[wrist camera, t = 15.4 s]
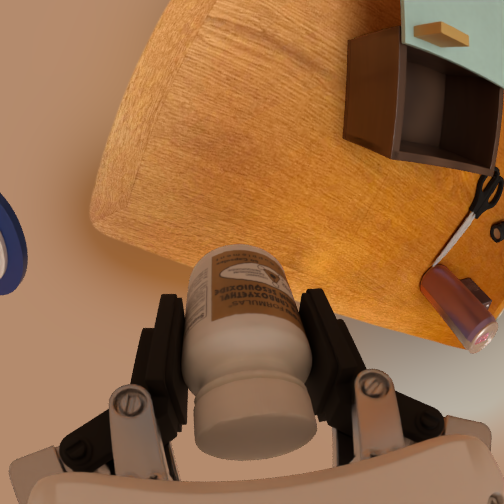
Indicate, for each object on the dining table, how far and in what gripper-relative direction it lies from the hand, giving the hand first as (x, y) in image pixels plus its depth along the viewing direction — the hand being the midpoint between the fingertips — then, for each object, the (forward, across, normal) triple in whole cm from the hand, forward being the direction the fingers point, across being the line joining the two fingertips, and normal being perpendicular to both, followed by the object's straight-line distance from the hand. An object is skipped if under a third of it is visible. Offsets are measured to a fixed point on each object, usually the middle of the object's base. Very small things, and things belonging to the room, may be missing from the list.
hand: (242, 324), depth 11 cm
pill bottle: (+3, 0, 0) cm, 3 cm away
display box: (+23, -20, -10) cm, 32 cm away
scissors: (+23, -37, +5) cm, 44 cm away
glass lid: (+12, -20, -20) cm, 31 cm away
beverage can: (+23, -33, +16) cm, 43 cm away
